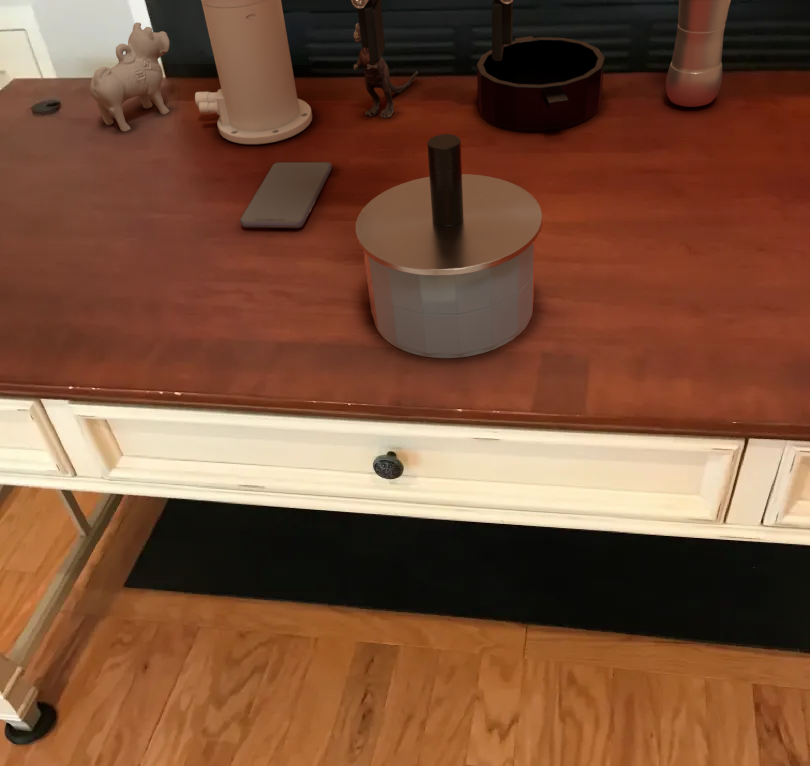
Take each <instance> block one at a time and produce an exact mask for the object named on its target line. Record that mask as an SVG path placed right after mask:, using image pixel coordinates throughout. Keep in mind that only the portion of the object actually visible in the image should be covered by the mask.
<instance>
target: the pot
mask: <svg viewBox="0 0 810 766" xmlns="http://www.w3.org/2000/svg"><path fill="white" fill-rule="evenodd" d="M362 251H363V250H362ZM363 258H364V260H363V261H364V265H365V274H366V281H367V289H368V298H369V305H370V313H371V315H372V318H373V322H374V326H375V328H376V330H377V332H378V333H379V334H380V336H381V337H382V338H383V339H384V340H385V341H386V342H387V343H389V344H390V345H392V346H394V347H395V348H397V349H399V350H400V351H404V352H405V353H408V354H413V355H416V356H420V357H424V358H425V357H427V358H432V359H460V358H468V357H473V356H478V355H482V354H486V353H488V352H491V351H494V350H496V349H498V348H501V347H503V346H505V345H506V344H508V343H510V342H511V341H513V340H514V339H516V338H517V337H518V336H520V335H521V333H522V332H523V331H524V330H526V328H527V326H528V325H529V324H530V321H531V319H532V316H533V312H534V301H535V300H534V299H535V274H536V273H535V271H536V270H535V268H536V267H535V266H536V240H535V241H534V242H533V243H532V244H531V245H530V246H529V247H528V248H527V249H526V250H525V251H524V252H522V253H521V254H519V255H518V256H516V257H514V258H513V259H511V260H509V261H507V262H504V263H502V264H500V265H497V266H494V267H491V268H488V269H485V270H481V271H477V272H472V273H466V274H459V275H448V276H430V275H418V274H411V273H406V272H401V271H398V270H394V269H391V268H388V267H386V266H384V265H381V264H379V263H378V262H376V261H374V260H373V259H371V258H370V257H369V256H368V255H366V253H365V252H364V251H363Z"/></svg>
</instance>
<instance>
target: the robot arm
mask: <svg viewBox="0 0 810 766" xmlns="http://www.w3.org/2000/svg"><path fill="white" fill-rule="evenodd" d="M200 1H201V7H202V10H203V15H204V18H205V24H206V28H207V32H208V37H209V40H210V45H211V49H212V54H213V58H214V62H215V67H216V68H215V69H216V71H217V75H218V81H219V84H220V88H219V89H217V91H214V92H212V91H211V92H210V91H196V92H195V94H194V102H195V105H196V107H197V108H198V111H199V113H200V114H201V115H202V114H205V115H207V114H216V115H218V116H219V117H218V119H217V121H216V122H217V129H218V133H219V134H220V136H222V138H223V139H226V140H227V141H228V142H232V143H235V144H240V145H266V144H272V143H277V142H280V141H285V140H287V139H289V138H292V137H294V136H296V135H298V134H300V133H302V132H303V131H304V130H306V129H307V128H308V127H309V126H310V124H311V122H312V121H313V113H312V108H311V106H310V104H308V102H306V101H305V100H303V99H300V98H298V93H297V88H296V82H295V75H294V69H293V63H292V57H291V52H290V46H289V41H288V34H287V28H286V22H285V16H284V11H283V4H282V0H200ZM350 1H351V4H352V6H353V7H354V8H356V9H357V15H358V17H357V18H358V23H359V26H360V36H361V41H360V43H361V49H362V48H368V50H369V59H370V64H377V62H379V61H380V59H381V57H382V58H383V54H384V52H385V48H386V43H385V32H384V21H383V19H384V18H383V11H382V0H350ZM513 19H514V0H492V3H491V50H492V59H494V60H495V61H501V60H502V55H503V50H504V45H511V44H512V42H513V32H514V31H513V30H514V29H513V28H514V26H513V21H514V20H513Z"/></svg>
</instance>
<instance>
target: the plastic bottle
mask: <svg viewBox="0 0 810 766" xmlns="http://www.w3.org/2000/svg"><path fill="white" fill-rule="evenodd" d="M731 1H732V0H678V15H677V16H678V18H677V22H678V23H677V30H676V38H675V43H674V48H673V53H672V57H671V62H670V64H669V67H668V70H667V75H666V79H665V91H666V92H665V93H666V95H667V97H668V99H669V101H670V102H671V103H672V104H674V105H677V106H680V107H687V108H688V107H689V108H692V107H693V108H694V107H701V106H702V107H703V106H706V105H708V104H711V103H712V102H713V101H714V100H715V98H716V97H717V96H718V95H719V92H720V88H721V86H722V82H723V62H722V59H723V47H724V45H723V44H724V34H725V28H726V22H727V18H728V15H729V14H728V13H729V9H730V5H731Z"/></svg>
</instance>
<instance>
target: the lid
mask: <svg viewBox="0 0 810 766" xmlns="http://www.w3.org/2000/svg"><path fill="white" fill-rule="evenodd" d="M461 141H462V140H461V138H460V137H459V136H458V135H455V134H451V133H443V134H437V135H434V136H432V137H430V138H429V139H428V140H427V143H426V146H427V156H428V159H427V160H428V172H429V173H428V174H429V176H426V177H420V178H416V179H412V180H410V181H406V182H403V183H401V184H398V185H395V186H392V187H391V188H389V189H386V190H384V191H383V192H381V193H380V194H378V195H376V196H375V197H374V198H372V199H371V200H370V201H368V203H366V205H364V207H363V208H362V210H361V211H360V212H359V214H358V216H357V218H356V221H355V238H356V240H357V244H358V245H359V247H360V249H361V250H362V251H364V252H365V253H366V255H368V256H369V257H370V258H371V259H373V260H374V261H376V262H378V263H379V264H381V265H384V266H386V267H388V268H391V269H394V270H398V271H401V272H406V273H411V274H418V275H430V276H448V275H459V274H466V273H472V272H477V271H481V270H485V269H488V268H491V267H494V266H497V265H500V264H502V263H504V262H507V261H509V260H511V259H513V258H514V257H516V256H518V255H519V254H521V253H522V252H524V251H525V250H526V249H527V248H528V247H529V246H530V245H531V244H532V243H533V242H534V241H535V242H536V240H537V238H538V237H539V234H540V233H541V230H542V225H543V212H542V208H541V206H540V204H539V202H538V200H537V199H536V198H535V197H534V196H533V195H532V194H531V193H530V192H529V191H527V190H526V189H524V188H523V187H521V186H519V185H517V184H515V183H512V182H510V181H507V180H504V179H502V178H497V177H493V176H488V175H482V174H470V173H463V168H462V167H463V166H462V142H461ZM364 252H363V253H364Z"/></svg>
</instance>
